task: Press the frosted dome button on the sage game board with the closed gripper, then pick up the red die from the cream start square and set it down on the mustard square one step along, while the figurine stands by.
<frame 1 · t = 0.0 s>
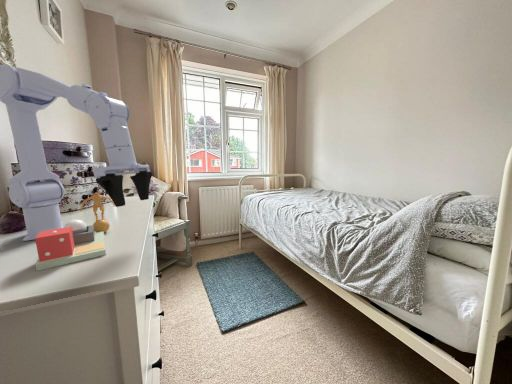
hand: (133, 202, 52), 11 cm above the table, tool pointing down, fingers open, 7 cm apart
die: (58, 254, 45), point 1 cm above the table, touching board
figurine: (101, 232, 62), on the table
board: (76, 249, 50), on the table
dome housing: (76, 235, 52), on the board, point 2 cm above the table
dome: (75, 228, 52), point 4 cm above the table, slide at 0.0 cm
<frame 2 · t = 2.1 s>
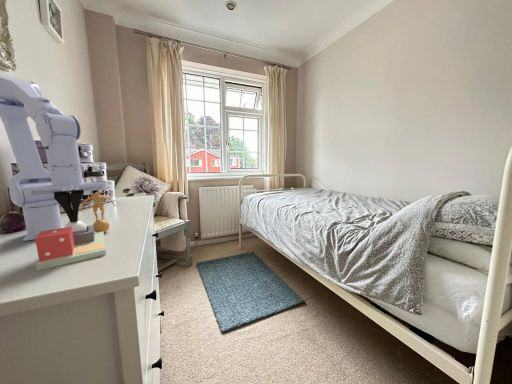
hand: (74, 221, 52), 6 cm above the table, tool pointing down, fingers closed, pressing on dome
dome: (75, 229, 52), point 4 cm above the table, slide at -0.3 cm, touching gripper
everything else where it was.
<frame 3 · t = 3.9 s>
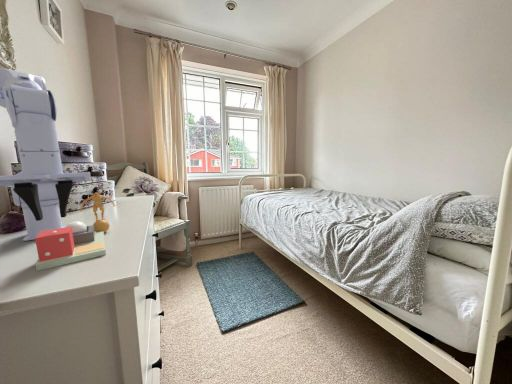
hand: (52, 217, 43), 9 cm above the table, tool pointing down, fingers open, 3 cm apart
dome: (75, 230, 52), point 4 cm above the table, slide at -0.5 cm
everything else where it was.
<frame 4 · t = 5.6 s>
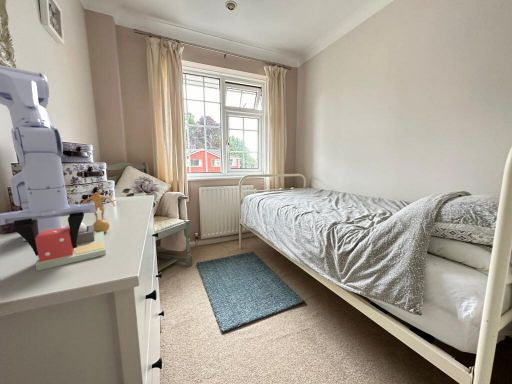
hand: (57, 250, 44), 2 cm above the table, tool pointing down, fingers closed on die, 5 cm apart
die: (58, 254, 45), point 1 cm above the table, touching board, gripper
everything else where it was.
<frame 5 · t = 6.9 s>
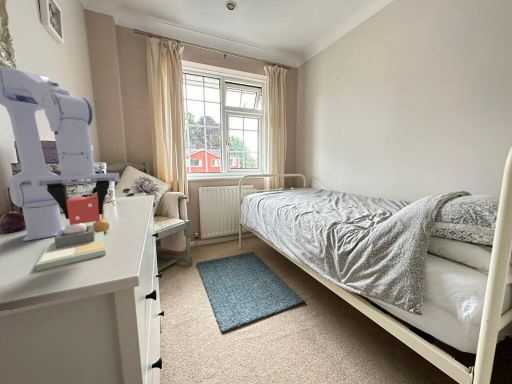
hand: (85, 215, 47), 9 cm above the table, tool pointing down, fingers closed on die, 5 cm apart
die: (86, 220, 47), point 8 cm above the table, touching gripper
everything else where it was.
when the fingers open (3 cm above the table, at t = 8.4 s): die drops 1 cm, resting on board.
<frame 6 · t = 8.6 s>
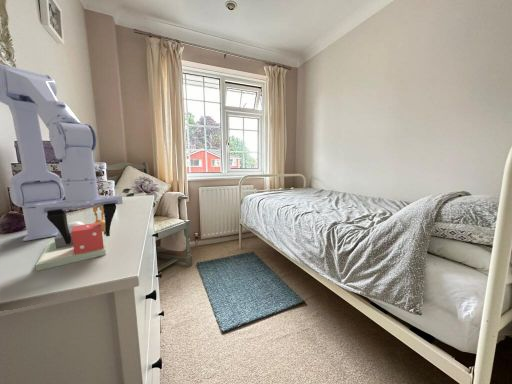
hand: (89, 238, 47), 3 cm above the table, tool pointing down, fingers open, 6 cm apart
die: (90, 247, 48), point 1 cm above the table, touching board
everything else where it was.
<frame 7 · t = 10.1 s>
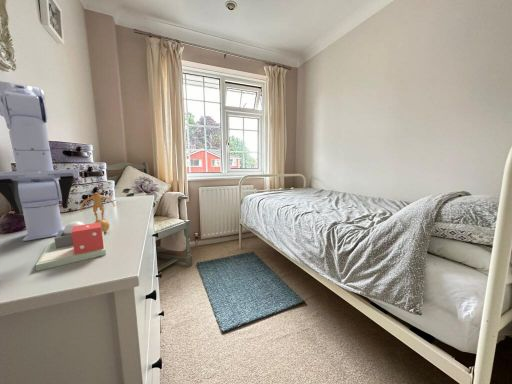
hand: (43, 210, 48), 10 cm above the table, tool pointing down, fingers open, 7 cm apart
nothing on the table moved.
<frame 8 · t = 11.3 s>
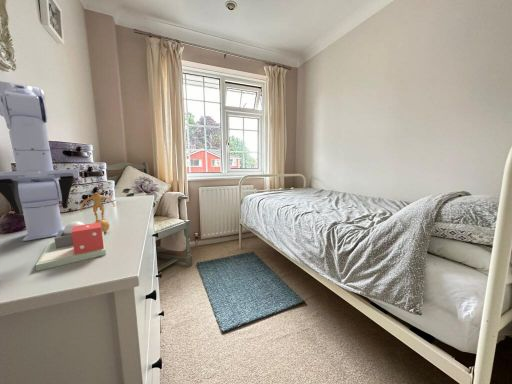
hand: (43, 210, 48), 10 cm above the table, tool pointing down, fingers open, 7 cm apart
nothing on the table moved.
at the end: die 0.1 cm from the target spot, point 1.3 cm above the table; die tilted 0°; the gripper is holding nothing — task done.
